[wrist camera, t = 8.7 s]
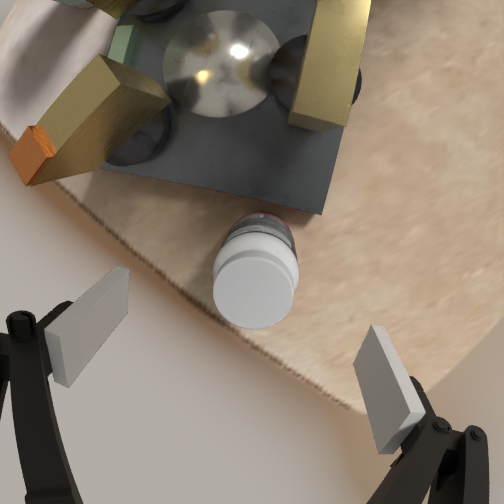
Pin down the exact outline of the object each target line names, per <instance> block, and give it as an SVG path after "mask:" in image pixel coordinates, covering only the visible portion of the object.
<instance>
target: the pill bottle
mask: <svg viewBox="0 0 504 504" xmlns="http://www.w3.org/2000/svg"><path fill="white" fill-rule="evenodd" d="M213 280H214V284H213V299H214V302H215V305H216V307H217V309H218V311H219V312H220V313H221V315H222V316H223V317H224V318H225V319H226V320H228V321H229V322H231V323H232V324H234V325H236V326H238V327H241V328H245V329H264V328H268V327H270V326H273V325H275V324H277V323H278V322H279V321H281V320H282V319H283V318H284V317H285V316H286V315H287V313H288V312H289V310H290V308H291V306H292V303H293V298H294V292H295V290H296V287H297V285H298V280H299V267H298V261H297V255H296V249H295V244H294V239H293V235H292V233H291V231H290V229H289V227H288V226H287V225H286V224H285V223H284V222H283V221H282V220H281V219H280V218H278V217H276V216H274V215H272V214H269V213H262V212H258V213H251V214H248V215H246V216H244V217H242V218H240V219H239V220H238V221H237V222H236V223H235V224H234V225H233V226H232V228H231V230H230V232H229V234H228V235H227V237H226V239H225V241H224V243H223V245H222V247H221V249H220V250H219V252H218V254H217V257H216V259H215V262H214V266H213Z"/></svg>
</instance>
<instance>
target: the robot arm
mask: <svg viewBox="0 0 504 504" xmlns="http://www.w3.org/2000/svg"><path fill="white" fill-rule="evenodd" d="M128 285H129V269H126V268H122V267H119V266H116V267H115V268H114V269H113V270H111V271H110V272H109V273H108V274H107V275H105V276H104V277H103V278H102V279H101V280H100V281H98V282H97V283H96V284H95V285H94V286H92V287H91V288H90V289H89V290H88V291H87V292H85V293H84V294H83V295H82V296H81V297H80V298H78V299H77V300H76V301H75V302H71V301H66V302H63V303H61V304H59V305H57V306H56V307H55V308H54V309H53V311H50V312H49V313H48V315H46V316H44V317H43V318H42V319H41V320H40V321H39V322H38V323H36V318H35V316H34V315H33V314H32V313H31V312H28V311H15V312H13V313H11V314H10V315H9V316H8V317H7V319H6V324H7V328H8V333H9V334H5V333H0V419H1V413H2V408H3V402H4V399H5V394H6V390H7V386H8V381H10V387H11V401H12V412H13V420H14V427H15V435H16V442H17V448H18V453H19V458H20V464H21V469H22V473H23V478H24V481H25V486H26V490H27V494H26V495H25V503H26V504H83V501H82V499H81V496H80V494H79V491H78V488H77V486H76V483H75V480H74V477H73V474H72V472H71V469H70V466H69V463H68V459H67V456H66V453H65V450H64V446H63V443H62V439H61V435H60V432H59V428H58V424H57V420H56V416H55V412H54V407H53V402H52V397H51V392H50V387H49V382H48V378H47V377H48V376H49V375H50V374H51V372H52V373H53V377H54V381H55V382H57V383H59V384H61V385H63V386H65V387H67V388H69V387H70V386H71V385H72V383H73V382H74V381H75V379H76V378H77V377H78V375H79V374H80V373H81V371H82V370H83V369H84V367H85V366H86V365H87V363H88V362H89V361H90V360H91V358H92V357H93V356H94V354H95V353H96V352H97V351H98V349H99V348H100V347H101V346H102V344H103V343H104V342H105V341H106V339H107V338H108V337H109V336H110V334H111V333H112V332H113V331H114V329H115V328H116V327H117V326H118V324H119V323H120V322H121V321H122V319H123V318H124V317H125V316H126V314H127V313H128V311H127V310H128ZM353 365H354V369H355V372H356V375H357V379H358V382H359V385H360V389H361V392H362V396H363V399H364V403H365V406H366V410H367V413H368V417H369V420H370V424H371V428H372V431H373V435H374V439H375V443H376V447H377V451H378V454H394V452H395V451H396V450H397V449H398V448H399V447H400V446H401V449H402V453H401V454H400V455H399V457H398V458H397V459H396V460H395V461H394V462H393V463H392V464H391V465H390V467H392V468H391V469H390V471H389V472H388V474H387V475H386V477H385V478H384V480H383V481H382V483H381V484H380V485H379V487H378V488H377V490H376V491H375V493H374V494H373V496H372V497H371V498H370V500H369V501H368V502H367V504H422V502H423V500H424V498H425V496H426V494H427V492H428V490H429V487H430V485H431V488H430V493H429V499H428V504H489V457H488V443H487V436H486V434H485V432H484V431H483V430H482V429H481V428H479V427H477V426H474V425H471V426H468V427H467V428H466V430H465V431H464V432H459V431H455V430H452V428H451V425H450V424H449V423H448V422H447V421H446V420H445V419H444V418H441V417H437V416H436V415H435V413H434V411H433V409H432V407H431V405H430V402H429V400H428V398H426V397H427V396H426V394H425V392H424V390H423V388H422V386H421V384H420V383H419V382H418V381H417V380H416V379H415V378H414V377H412V376H408V373H407V371H406V369H405V367H404V365H403V363H402V361H401V359H400V357H399V355H398V353H397V352H396V350H395V348H394V346H393V344H392V342H391V340H390V338H389V336H388V334H387V332H386V330H385V329H384V327H383V326H379V325H373V324H371V326H370V328H369V330H368V333H367V335H366V337H365V339H364V341H363V344H362V346H361V348H360V350H359V352H358V354H357V356H356V359H355V361H354V363H353Z"/></svg>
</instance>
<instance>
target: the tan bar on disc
mask: <svg viewBox="0 0 504 504" xmlns="http://www.w3.org/2000/svg"><path fill="white" fill-rule="evenodd" d="M171 102H172V100H171V99H170V98H169V96H168V95H167V94H166V93H165V91H164V90H163V89H162V87H161V86H160V85H159V83H158V82H157V81H156V80H155V78H153V77H150V76H148V75H146V74H144V73H142V72H140V71H137V70H135V69H133V68H131V67H128V66H126V65H124V64H122V63H119V62H117V61H115V60H112V59H110V58H107V57H105V56H103V55H100V54H98V55H97V56H96V57H95V58H94V59H93V60H92V61H91V62H90V63H89V64H88V65H87V66H86V67H85V68H84V69H83V70H82V71H81V72H80V73H79V74H78V76H77V77H76V78H75V79H74V80H73V81H72V82H71V83H70V84H69V85H68V86H67V88H66V89H65V90H64V91H63V92H62V93H61V94H60V96H59V97H58V98H57V99H56V100H55V102H54V103H53V104H52V105H51V106H50V108H49V109H48V110H47V111H46V113H45V114H44V115H43V116H42V118H41V119H40V120H39V122H38V123H37V124H36V126H28V128H27V129H26V130H25V132H24V133H23V135H22V136H21V137H20V139H19V140H18V142H17V143H16V145H15V146H14V148H13V149H12V151H11V152H10V154H9V158H10V159H11V162H12V163H13V165H14V167H15V169H16V171H17V172H18V174H19V176H20V178H21V180H22V181H23V183H24V185H25V186H28V185H30V187H31V186H35V185H38V184H42V183H46V182H49V181H53V180H57V179H61V178H65V177H69V176H74V175H78V174H82V173H87V172H91V171H96V170H98V169H99V168H100V167H101V166H102V165H103V164H104V163H105V162H107V163H109V164H111V165H114V166H130V165H135V164H140V163H144V162H146V161H148V160H150V159H152V158H153V157H155V156H156V155H157V154H158V153H159V152H160V151H161V150H162V148H163V147H164V145H165V144H166V142H167V140H168V137H169V134H170V130H171V114H170V111H169V108H168V105H169V104H170V103H171Z"/></svg>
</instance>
